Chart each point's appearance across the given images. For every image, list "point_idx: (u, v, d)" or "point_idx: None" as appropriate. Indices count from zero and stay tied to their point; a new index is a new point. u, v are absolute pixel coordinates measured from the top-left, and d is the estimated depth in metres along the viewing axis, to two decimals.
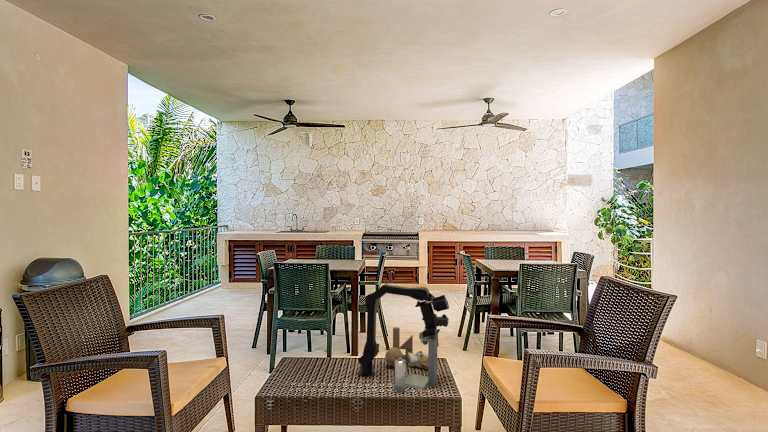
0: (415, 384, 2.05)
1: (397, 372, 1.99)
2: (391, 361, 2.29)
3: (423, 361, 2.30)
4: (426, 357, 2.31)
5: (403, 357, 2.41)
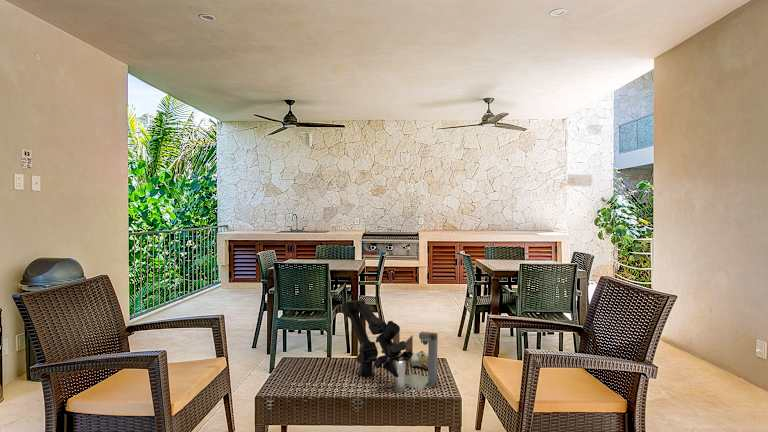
0: (415, 384, 2.05)
1: (397, 372, 1.99)
2: None
3: (424, 361, 2.30)
4: (427, 357, 2.31)
5: None
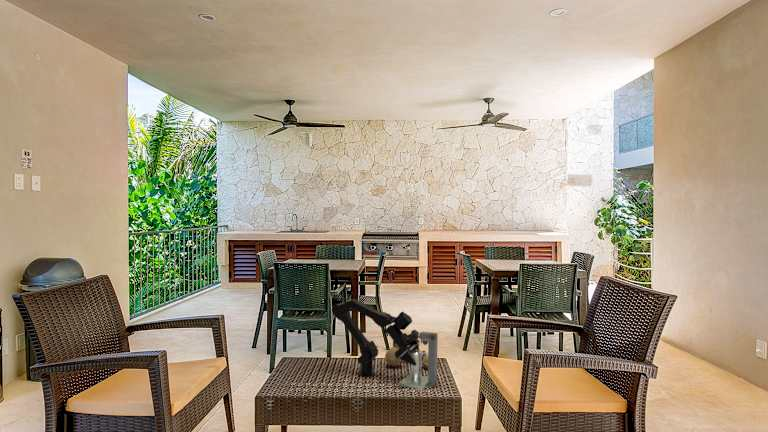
0: (415, 384, 2.05)
1: (416, 363, 2.08)
2: (391, 361, 2.29)
3: (425, 361, 2.30)
4: None
5: None
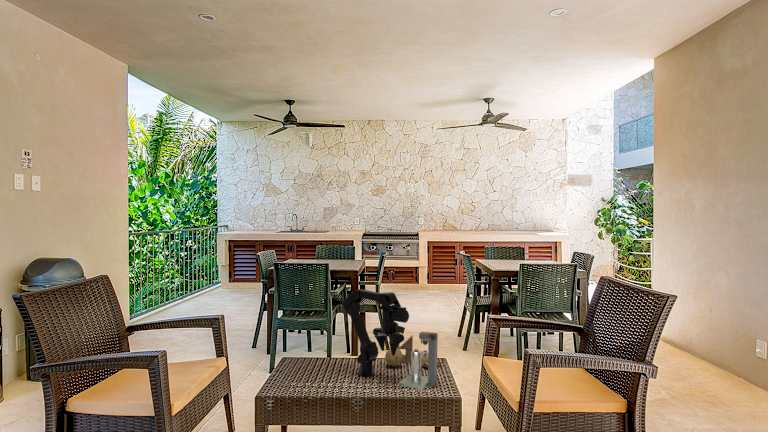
0: (415, 384, 2.05)
1: (416, 363, 2.08)
2: (391, 361, 2.29)
3: (426, 360, 2.31)
4: None
5: (403, 357, 2.41)
